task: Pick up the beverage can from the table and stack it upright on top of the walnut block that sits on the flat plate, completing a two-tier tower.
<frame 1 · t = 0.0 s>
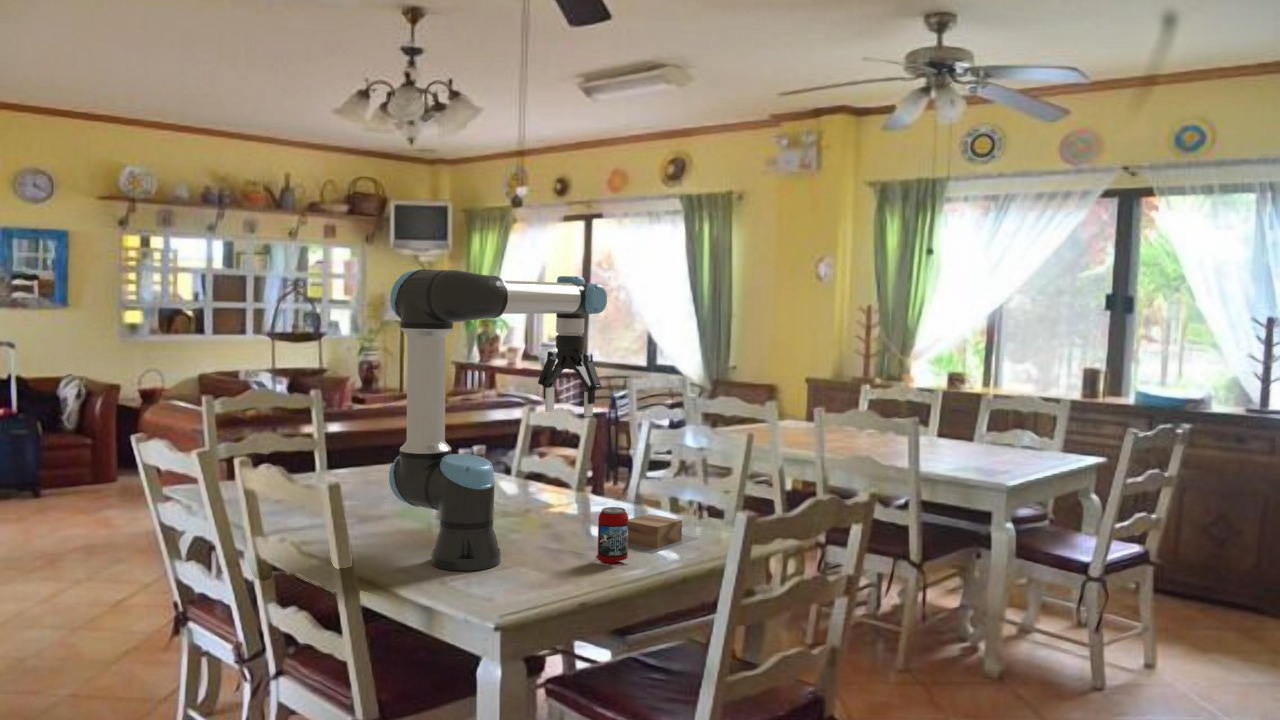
hand: (568, 414, 270), 28 cm above the table, tool pointing down, fingers open, 13 cm apart
walnut block: (652, 540, 244), point 1 cm above the table, touching flat plate
flat plate: (652, 545, 244), on the table
beverage can: (612, 562, 228), on the table
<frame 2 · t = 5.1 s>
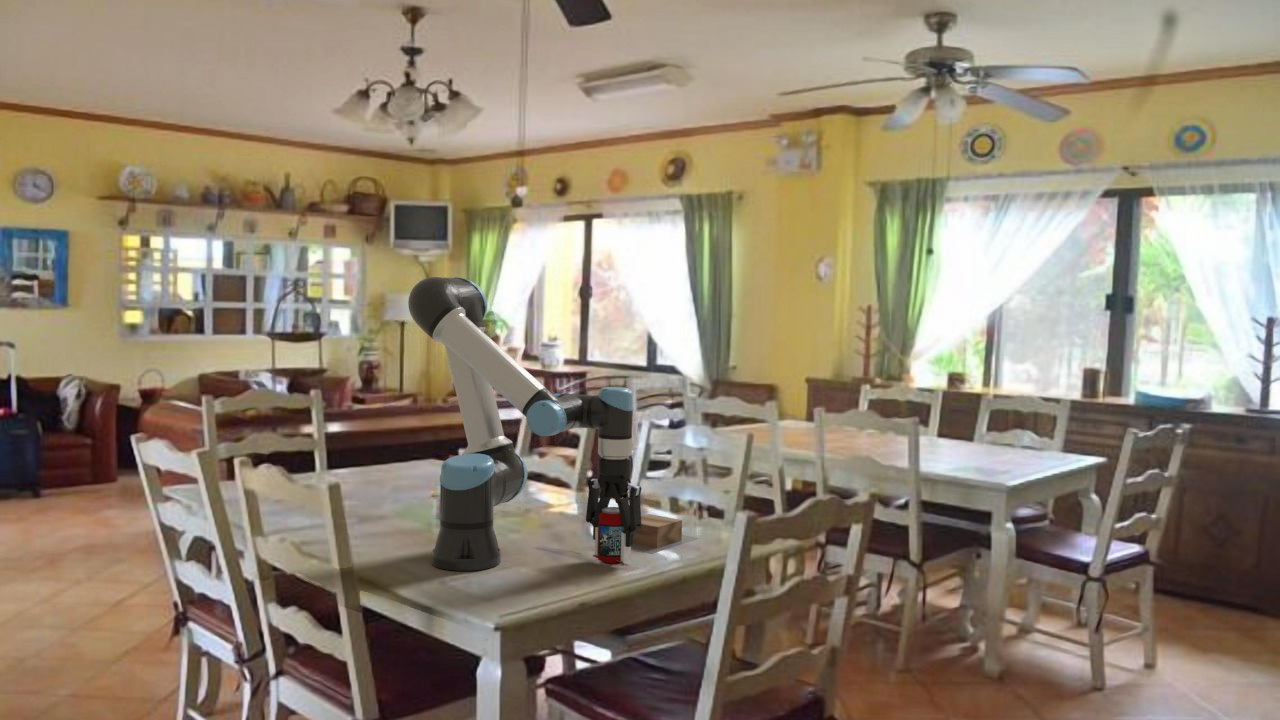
hand: (612, 557, 228), 1 cm above the table, tool pointing down, fingers closed on beverage can, 7 cm apart
beverage can: (612, 562, 228), on the table, touching gripper
everything else where it was.
when the fingers open (8 cm above the table, at t = 10.4 s): beverage can drops 1 cm, resting on walnut block.
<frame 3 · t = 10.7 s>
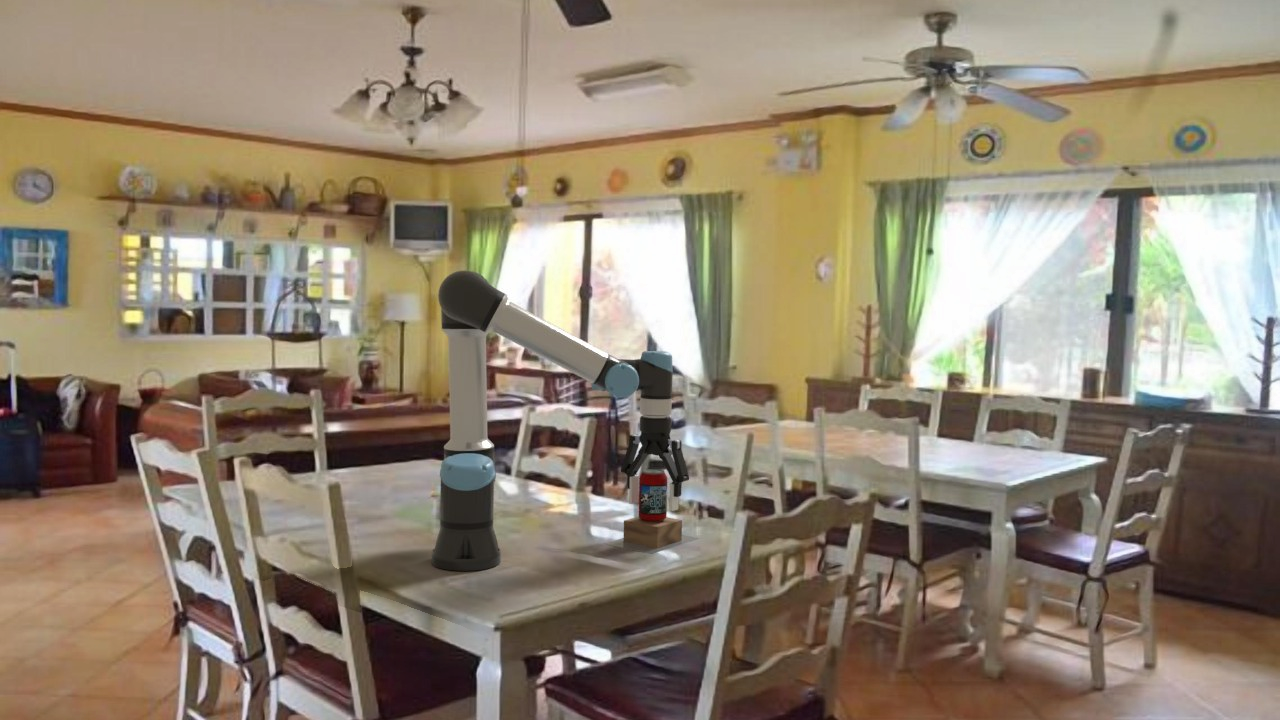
hand: (653, 506, 243), 10 cm above the table, tool pointing down, fingers open, 11 cm apart
walnut block: (652, 540, 244), point 1 cm above the table, touching beverage can, flat plate
beverage can: (652, 521, 244), point 6 cm above the table, touching walnut block
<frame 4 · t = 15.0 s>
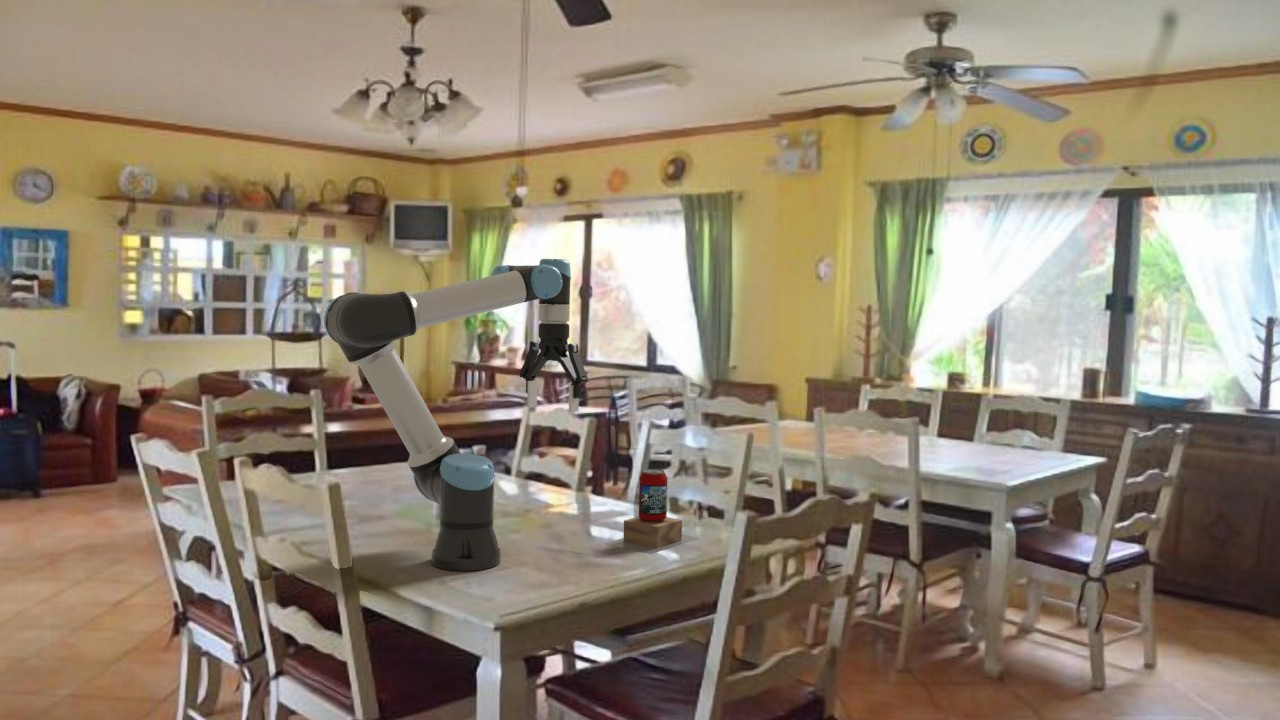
hand: (552, 409, 248), 32 cm above the table, tool pointing down, fingers open, 13 cm apart
nothing on the table moved.
at the end: beverage can inside the target area on the walnut block (0.2 cm from its centre), point 4.8 cm above the walnut block's base; beverage can tilted 0°; the gripper is holding nothing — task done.
